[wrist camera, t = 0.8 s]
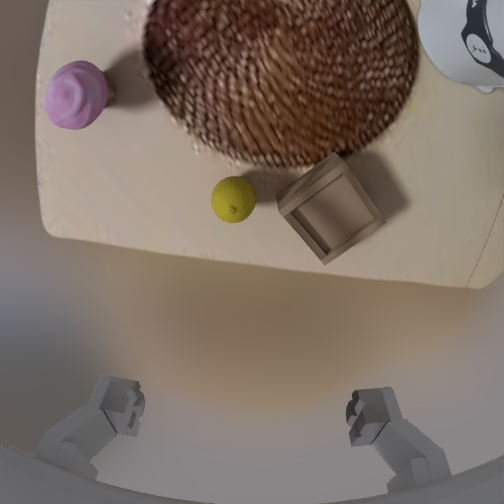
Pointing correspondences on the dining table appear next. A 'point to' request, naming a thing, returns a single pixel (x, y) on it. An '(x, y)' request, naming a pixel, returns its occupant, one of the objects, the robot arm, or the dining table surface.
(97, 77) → the cupcake
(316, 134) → the dining table surface
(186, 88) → the dining table surface
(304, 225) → the walnut tray
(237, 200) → the lemon
